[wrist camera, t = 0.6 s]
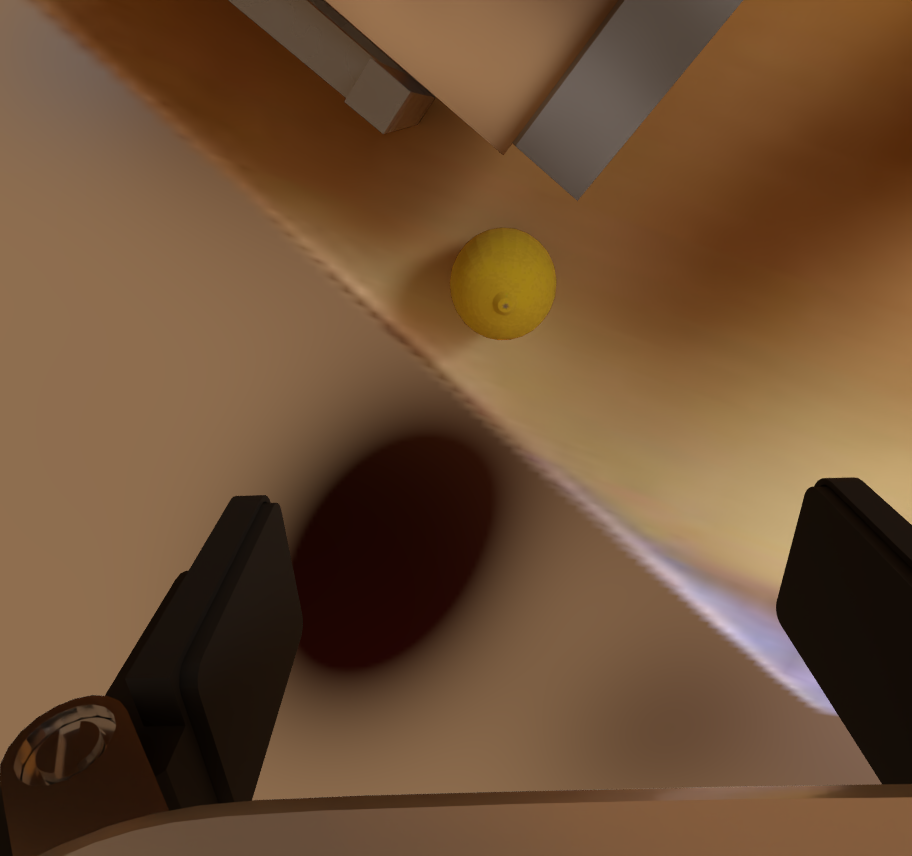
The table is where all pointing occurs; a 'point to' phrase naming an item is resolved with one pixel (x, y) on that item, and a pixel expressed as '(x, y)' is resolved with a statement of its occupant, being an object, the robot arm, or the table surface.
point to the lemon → (503, 283)
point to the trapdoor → (545, 67)
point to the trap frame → (343, 60)
